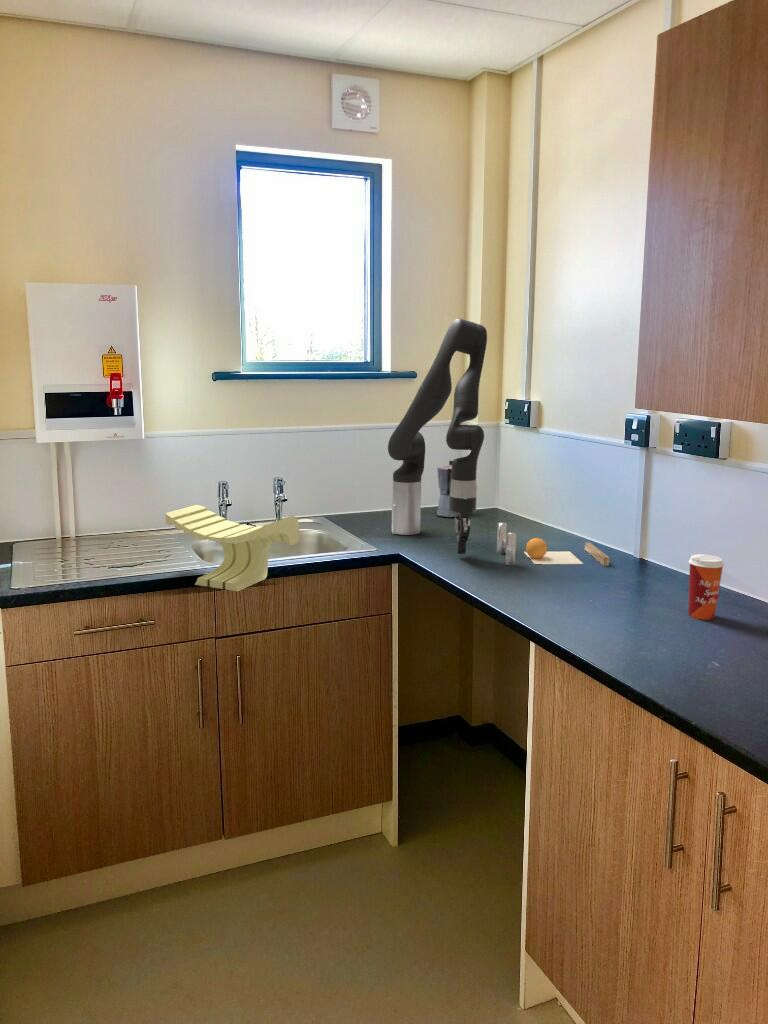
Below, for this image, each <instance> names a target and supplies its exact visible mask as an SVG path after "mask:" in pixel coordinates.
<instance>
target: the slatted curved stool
mask: <svg viewBox="0 0 768 1024" xmlns="http://www.w3.org/2000/svg"><path fill="white" fill-rule="evenodd" d="M165 525H172V526H173V525H174V529H175V530H176V529H177V530H183V534H186V535H191V534H192V539H198V540H203V541H204V540H208V541H211V542H219V544H220V546H221V548H222V549H223V555H224V558H223V561H222V563H221V564H220V565H219V566H217V567H216V568H215V569H213V570H212V571H210V572H208V573H206V574H204V575H202V576H199V577H197V579H196V582H195V583H194V585H195V586H202V587H209V588H214V589H221V590H223V589H225V590H227V591H234V592H239V591H242V590H244V589H246V588H248V587H250V586H253V585H255V584H257V583H259V582H261V581H264V580H266V578H267V576H268V570H269V569H268V566H269V565H268V564H269V557H270V556H269V555H270V551H271V547H272V545H273V544H272V542H278V543H282V542H283V543H284V544H286V545H290V546H293V545H295V544H297V543H299V542H300V523H299V520H298V518H297V517H296V516H295V515H291V516H288V517H285V518H282V519H278V520H276V521H273V522H271V523H268V524H265V525H257V526H255V525H248V524H241V523H238V522H234V521H232V520H228V519H227V520H226V517H222V516H220V515H218V514H217V513H216V512H213V511H211V510H209V509H208V508H207V507H205V506H203V505H200V504H195V505H189V506H187V507H184V508H179V509H176V510H172V511H168V512H165Z"/></svg>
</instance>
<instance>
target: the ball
mask: <svg viewBox="0 0 768 1024" xmlns="http://www.w3.org/2000/svg"><path fill="white" fill-rule="evenodd" d="M525 550H526V551H525V552H527V553H528V555H529V556H530V557H532V558H535V559H539V558H542V557H543V556H544V555H545V554H546V552H548V545H547V543H546V542H545V541H544V539H542V538H540V537H539V538H538V537H535V538H534V537H533V538H532V539H530V540H529V541H528V542H527V543H526V546H525Z"/></svg>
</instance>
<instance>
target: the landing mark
mask: <svg viewBox="0 0 768 1024" xmlns="http://www.w3.org/2000/svg"><path fill="white" fill-rule="evenodd" d="M523 553H524V554H525V555H526V556H527V558H528V557H529V558H530V559H531V560H530V559H529V558H528V559H529V560H530V561H531V562H532V563H533V564H534V565H535V564H542V565H584V563H583V562H582V561H581V560H580V559H579V558H578V557H577V556H575V555H574V554H573V553H572V552H571V550H570V551H547V552H546V554H545V555H544V556H543V557H542V558H539V559H535V558H532V557H530V556H529V555H528V553H527V551H523Z"/></svg>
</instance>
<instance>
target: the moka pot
mask: <svg viewBox="0 0 768 1024" xmlns="http://www.w3.org/2000/svg"><path fill="white" fill-rule="evenodd" d="M452 462H453V460H448V463H449V464H448V465H444V466H437V479H438V489H439V499H438V505H437V511H436V516H439V517H444V518H445V517H446V518H455V517H457V513H456V512H452V511H451V510H450V486H451V479H452Z"/></svg>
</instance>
